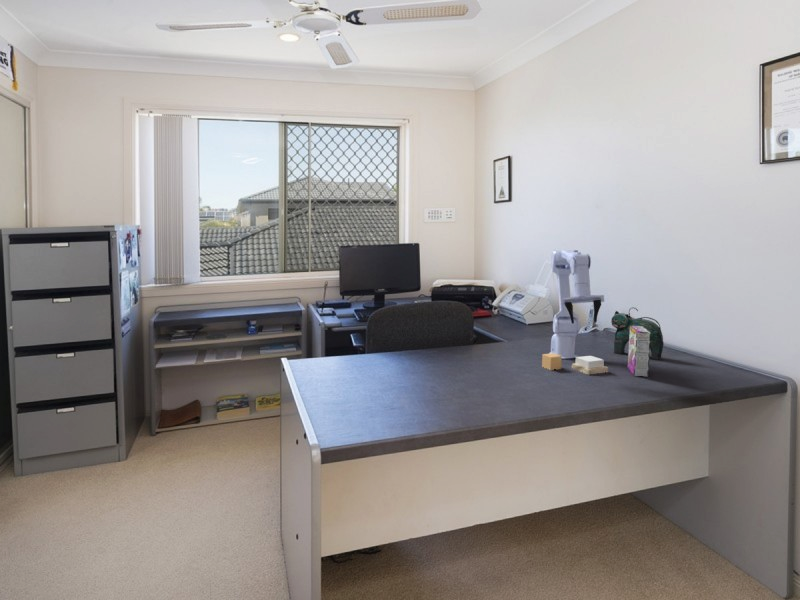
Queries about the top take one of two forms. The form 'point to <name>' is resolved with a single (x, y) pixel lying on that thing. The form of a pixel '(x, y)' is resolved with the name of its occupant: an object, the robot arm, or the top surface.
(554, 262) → the robot arm
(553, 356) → the tan cube
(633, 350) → the candy bar box
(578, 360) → the off-white slab
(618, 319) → the ceramic cat
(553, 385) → the top surface
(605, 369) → the maple base slab
